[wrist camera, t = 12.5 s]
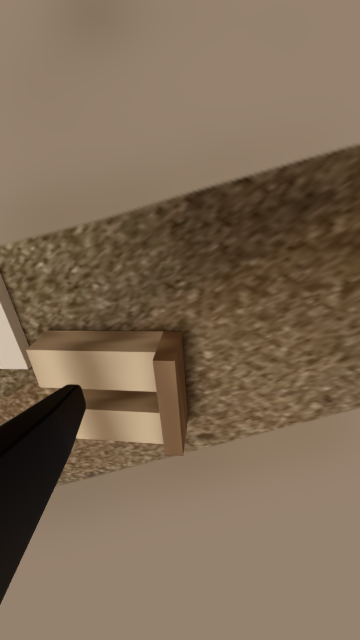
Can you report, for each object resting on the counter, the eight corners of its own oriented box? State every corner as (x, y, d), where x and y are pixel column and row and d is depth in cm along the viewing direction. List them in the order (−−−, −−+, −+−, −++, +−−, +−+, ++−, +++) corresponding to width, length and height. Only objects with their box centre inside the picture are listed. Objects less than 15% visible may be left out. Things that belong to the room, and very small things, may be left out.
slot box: (182, 331, 21) (174, 361, 18) (188, 418, 26) (183, 455, 22) (48, 330, 23) (17, 357, 20) (74, 412, 27) (53, 446, 24)
